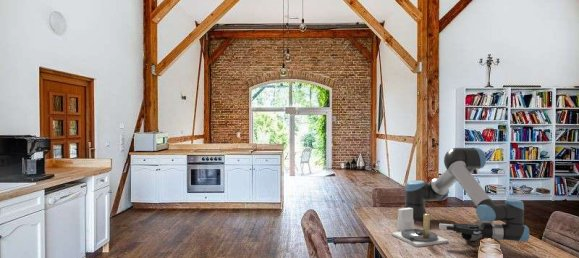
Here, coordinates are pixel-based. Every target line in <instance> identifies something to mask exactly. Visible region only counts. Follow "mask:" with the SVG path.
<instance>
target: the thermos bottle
mask: <svg viewBox="0 0 579 258" xmlns="http://www.w3.org/2000/svg"><path fill="white" fill-rule="evenodd" d="M483 222H487V223H491V224H492V223H494V221H482V220H480V219H479V220H477V221H474V222H473V223H471V224H473V225H478V226H481V225H482V223H483ZM461 237H462V239H463V240H465V241H470V242H474V241H477V240H478V239H481V238H483V237H482V234H479V235H478V236H476V235H472V234H465V233H461Z"/></svg>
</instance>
